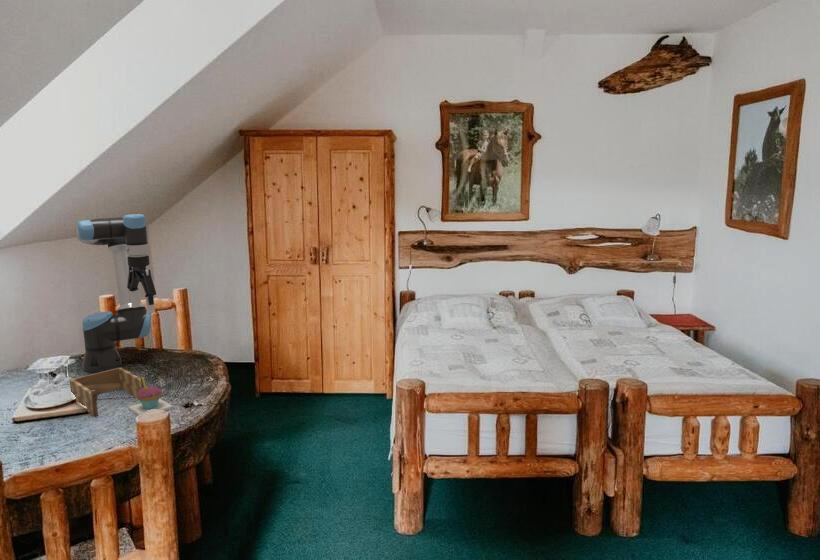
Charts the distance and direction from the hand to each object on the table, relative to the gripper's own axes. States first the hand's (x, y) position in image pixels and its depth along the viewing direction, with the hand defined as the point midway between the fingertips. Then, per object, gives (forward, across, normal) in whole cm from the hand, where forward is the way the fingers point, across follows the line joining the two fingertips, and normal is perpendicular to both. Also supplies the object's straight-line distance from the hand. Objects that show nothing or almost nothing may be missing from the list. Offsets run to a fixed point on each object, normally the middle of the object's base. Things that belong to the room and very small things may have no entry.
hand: (143, 310), depth 233 cm
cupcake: (+30, +23, -10) cm, 39 cm away
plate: (+31, +23, -10) cm, 40 cm away
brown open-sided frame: (+31, +4, -17) cm, 35 cm away
